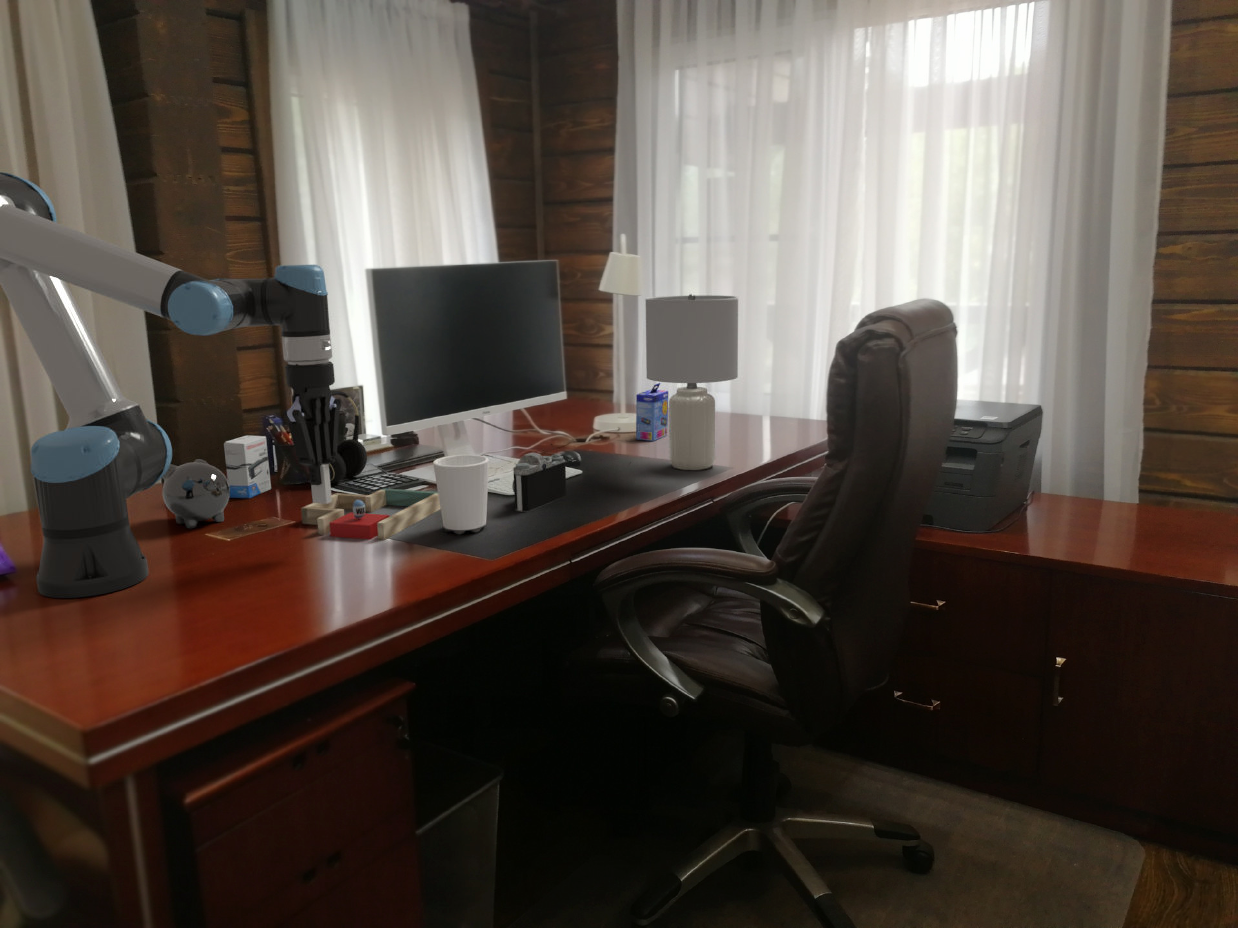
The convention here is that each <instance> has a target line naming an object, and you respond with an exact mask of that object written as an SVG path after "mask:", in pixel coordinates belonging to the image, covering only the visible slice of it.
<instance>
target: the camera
mask: <svg viewBox="0 0 1238 928" xmlns="http://www.w3.org/2000/svg"><path fill="white" fill-rule="evenodd" d="M566 469H567V468H566V460H565V459H564V456H563V455H561V454H558V453H554V454H551V456H549V455H541V454H540V453H538V452H537V453H536V452H530V453H525V454H524V455H523V456H522V457H521V458H519V460H518V462H517V463H516V464H515V466H514V467H513V469H512V470H513V471H512V472H513V481H512V484H511V485H512V486H511V487H512V492H513V493H514V510H515V511H516V512H523V513H524V512H531V511H533V510H536V509H538V508H541V507H543V506H546V505H549V504H552V503H554V502H556V501H559V500H561V499H563V498H566V497H567V471H566Z"/></svg>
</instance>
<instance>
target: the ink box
mask: <svg viewBox="0 0 1238 928" xmlns="http://www.w3.org/2000/svg"><path fill="white" fill-rule="evenodd" d="M267 444H268V443H267V437H266V436H265V435H263V436H261V435H243V436H241V437H237V438H234V439H231V440H230V439H229V440H226V441H224V443H223V449H224V456H225V457H224V458H225V467H226V478H227V480H228V482H229V486H230V497H229V499H231V498H232V499H251V498H254V497H256V496H258V495H261V494H262V493H265V492H267V491H270V490H271V489H272V484H271V474H270V466H269V465H270V464H269V455H268V445H267Z"/></svg>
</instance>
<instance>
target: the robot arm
mask: <svg viewBox="0 0 1238 928" xmlns="http://www.w3.org/2000/svg"><path fill="white" fill-rule="evenodd" d="M57 219H58V218H57V214H56V210H55V207H54V205H53V202H52V200H51V199H50V198H49V196H48V195H47V193H45V192H44V190H42V189H41V188H40V187H39V186H38V185H37V184H35V183H33V182H32V181H30V180H29V179H25V178H23V177H21V176H18V175H15V174H12V173H9V172H4V171H3V172H1V171H0V286H1V288H2V291H3V292H4V294H5V296H6V298H7V299H8V301H9V303H10V306H11V307H12V309H13V311H14V314H15V315H16V316H17V318H18V321H19V323H20V325H21V327H22V329H23V331H24V332H25V334H26V336H27V338H28V340H29V343H30V344H31V345H32V347H33V349H34V351H35V353H36V356H37V357H38V359H39V361H40V363H41V365H42V367H43V369H44V371H45V374H46V375H47V377H48V379H49V381H50V383H51V384H52V386H53V388H54V391H55V392H56V394H57V396H58V398H59V400H60V403H61V404H62V406H63V408H64V409H65V412H66V413H67V415H68V418H69V420H68V422H67V425H66V428H65V429H64V430H57V431H53V432H50V433H48V434H46V435H43V436H41V437H40V438H39V439H37V440H36V441H34V443H33V444H32V446H31V449H30V461H31V462H30V472H31V474H32V476H33V477H32V478H33V483H34V489H35V496H36V501H37V506H38V507H37V509H38V513H39V519H40V524H41V531H42V537H43V544H42V549H41V555H40V559H39V560H40V561H39V569H38V571H37V572H36V576H35V577H36V578H35V579H36V584H37V585H36V586H37V591H38V593H39V594H40V595H41V596H43V597H48V598H53V599H54V598H55V599H76V598H86V597H95V596H98V595H105V594H109V593H113V592H116V591H120V590H123V589H126V588H129V587H131V586H134V585H137V584H139V583H140V582H142V581H143V580H145V579H146V578H147V577H148V576H149V573H150V572H149V565H148V560H147V557H146V556H145V554H143V552H142V550H141V547H140V544H139V543H138V541H137V538H136V537H135V535H134V533H133V531H132V529H131V525H130V519H129V511H128V504H127V499H128V498H130V497H132V496H135V495H136V494H138V493H141V492H143V491H144V490H145V491H146V490H148V489H151V487H153V486H154V485H155V484H157V482H159V481H160V480H161V479H163V478H162V477H163V476H164V475H165V473H166V472H167V470H168V468H169V466H170V464H171V463H172V458H173V448H172V443H171V440H170V438H169V436H168V434H167V433H166V431H165V430H164V429H163V428H162V427H161V425H159V424H157V423H156V422H153V421H151V420H150V419H148V418H146V416H145V414H144V412H143V410H142V408H141V406H140V404H139V402H135V401H133V400H131V399H128V398H126V397H125V396H124V395H123V393H122V390H121V389H120V387H119V385H118V383H117V380H116V379H115V378H116V377H114V375H113V373H112V371H111V369H110V367H109V364H108V363H107V361H106V358H105V357H104V355H103V352H102V351H101V349H100V347H99V345H98V343H97V341H96V339H95V337H94V335H93V333H92V331H91V329H90V327H89V326H88V323H87V321H86V319H85V317H84V315H83V313H82V311H81V310H80V307H79V306H78V305H79V304H78V303H77V301H76V299H75V297H74V295H73V293H72V292H71V289H70V288H69V285H68V284H72V285H73V286H76V287H79V288H81V289H85V290H88V291H90V292H93V293H95V294H98V295H101V296H104V297H107V298H108V299H111V300H115V301H117V302H120V303H123V304H126V305H128V306H130V307H134V308H137V309H139V310H142V311H144V312H148V313H150V314H153V315H155V316H159V317H161V318H163V319H166V320H169V321H171V322H173V324H174V326H176V327H177V328H178V329H180V330H181V331H182V332H184V333H186V334H190V335H193V336H202V337H203V336H212V335H215V334H218V333H220V332H224V331H229V330H234V329H239V328H245V327H246V328H247V327H264V326H265V327H266V326H268V327H269V326H280V330H281V343H282V355H283V356H282V358H283V360H284V361H285V362H287V363H286V364H285V366H284V370H285V380H286V385H287V387H289V388H291V389H292V398H291V403H292V405H291V407H290V408H287V409H284V410H283V411H282V415H283V418H284V419H285V420H286V422H287V424H288V427H289V432H290V437H291V438H292V439H291V440H292V443H293V446H294V450H295V453H296V458H297V462H298V464H300V465H303V466H307V468H308V477H309V484H310V485H311V496H312V497H311V499H312V503H322V504H328V503H330V502H332V496H331V495H332V487H331V483H330V467H329V463H334V462H335V459H334V458H332V457H335V456H336V455H337V446H338V445H339V444H338V443H339V442H338V441H339V424H340V422H339V421H340V420H339V418H340V410H341V407H342V404H343V402H342V399H341V398H335V397H334V396H332V392H331V391H332V389H331V388H330V386H332V385H334V384H335V381H336V380H335V377H336V376H335V369H334V368H335V367H334V363H333V362H332V361H330V360H331V359H332V358H333V348H332V341H331V340H332V339H331V329H330V318H329V317H330V316H329V314H330V313H329V303H328V302H329V299H328V295H329V292H328V290H327V285H326V278H325V272H324V269H323V268H322V266H320V265H318V264H290V265H289V264H287V265H277V266H276V267H275V268H274V269H275V270H274V275H273V276H274V277H267V278H225V277H224V278H216V279H210V280H209V279H206V278H203V277H202V276H198V275H196V274H193V273H192V272H187V271H184V270H183V269H180V268H178V267H175V266H172V265H169V264H167V263H164V262H161V261H160V260H156V259H153V258H152V257H148V256H146V255H143V254H141V253H138V252H134V251H133V250H129V249H128V248H125V247H121V246H119V245H116V244H114V243H111V242H108V241H106V240H104V239H101V238H98V237H96V236H92V235H90V234H87V233H84V232H82V231H80V230H77V229H74V228H71V227H68V226H66V225H64V224H61V223H58V221H57ZM330 448H331V449H330Z"/></svg>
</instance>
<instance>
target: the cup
mask: <svg viewBox="0 0 1238 928" xmlns="http://www.w3.org/2000/svg"><path fill="white" fill-rule="evenodd" d="M489 463H490V460H489V458H488V457H486V456H484V455H478V454H455V455H448V456H443V457H440V458H437V459H435V460H434V461H433V462H432V464H433V470H434V476H435V482H436V488H437V492H438V495H439V502H440V508H441V509H440V514H441V518H442V519H441V520H442V524H443V529H444V531H445V532H446V533H447V532H449V533H450V532H453V533H455V534H456V535H463V534H465V532H466V531H470V532H472V533H479V532H480V531H481V530H482V529H483V528H484V527H486V524H487V511H488V509H487V508H488V491H489V490H488V489H489V487H488V486H489V485H488V484H489V468H490V467H489Z"/></svg>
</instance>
